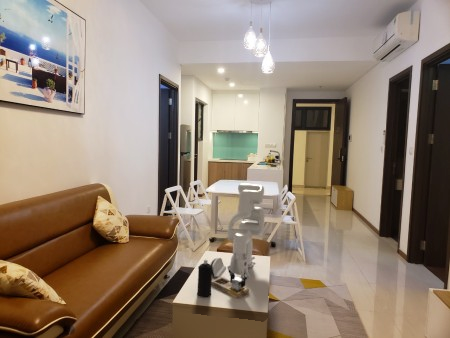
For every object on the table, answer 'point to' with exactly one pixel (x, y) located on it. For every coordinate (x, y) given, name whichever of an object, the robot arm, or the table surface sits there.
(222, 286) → the wooden slotted tray
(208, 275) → the aerosol can
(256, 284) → the table surface
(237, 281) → the grey rectangular block
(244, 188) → the robot arm
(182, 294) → the table surface
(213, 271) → the gray curved box
